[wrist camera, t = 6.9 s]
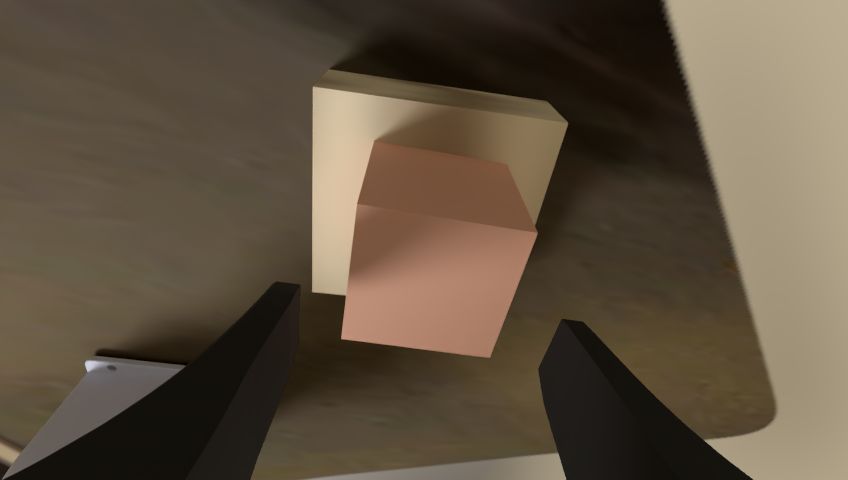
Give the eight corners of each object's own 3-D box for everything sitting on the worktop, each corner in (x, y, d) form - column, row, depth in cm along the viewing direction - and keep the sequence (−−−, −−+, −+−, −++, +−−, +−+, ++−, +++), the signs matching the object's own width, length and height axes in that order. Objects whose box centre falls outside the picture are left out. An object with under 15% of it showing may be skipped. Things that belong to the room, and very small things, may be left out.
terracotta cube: (359, 252, 18) (341, 338, 14) (374, 140, 16) (356, 203, 11) (473, 270, 19) (489, 357, 14) (506, 164, 16) (538, 233, 12)
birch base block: (326, 249, 22) (312, 291, 19) (331, 66, 17) (313, 86, 14) (495, 267, 23) (506, 312, 20) (544, 98, 18) (568, 123, 15)
